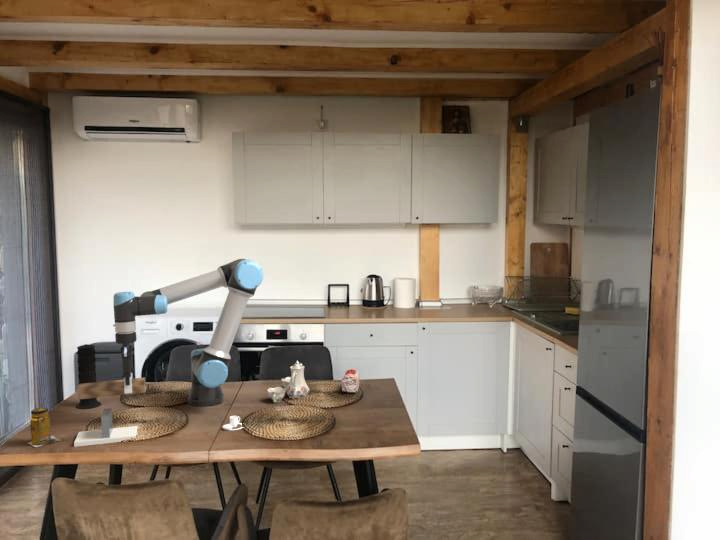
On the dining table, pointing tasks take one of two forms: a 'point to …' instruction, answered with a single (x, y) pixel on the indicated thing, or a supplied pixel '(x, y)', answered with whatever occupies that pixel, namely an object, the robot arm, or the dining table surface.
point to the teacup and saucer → (232, 423)
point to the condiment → (40, 428)
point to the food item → (350, 381)
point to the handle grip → (87, 373)
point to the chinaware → (291, 385)
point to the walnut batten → (109, 388)
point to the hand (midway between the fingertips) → (128, 391)
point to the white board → (96, 438)
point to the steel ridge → (106, 423)
